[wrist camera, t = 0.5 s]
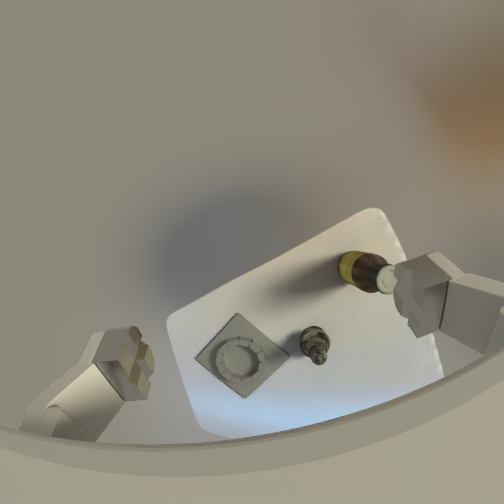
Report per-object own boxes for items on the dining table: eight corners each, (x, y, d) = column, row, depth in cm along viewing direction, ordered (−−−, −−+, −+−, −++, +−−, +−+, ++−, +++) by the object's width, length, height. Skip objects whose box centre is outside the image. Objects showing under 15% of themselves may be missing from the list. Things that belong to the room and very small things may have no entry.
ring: (275, 357, 58) (275, 361, 56) (244, 387, 59) (243, 392, 57) (238, 327, 59) (237, 330, 57) (208, 359, 60) (206, 362, 58)
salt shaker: (298, 352, 58) (302, 377, 46) (299, 325, 58) (303, 346, 46) (327, 350, 58) (336, 375, 46) (328, 324, 57) (338, 344, 46)
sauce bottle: (338, 284, 57) (366, 306, 37) (335, 252, 57) (363, 260, 37) (369, 279, 56) (408, 299, 36) (366, 248, 56) (406, 253, 36)
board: (289, 355, 58) (289, 356, 58) (245, 397, 60) (245, 398, 59) (238, 312, 59) (237, 313, 58) (196, 357, 60) (195, 358, 60)
